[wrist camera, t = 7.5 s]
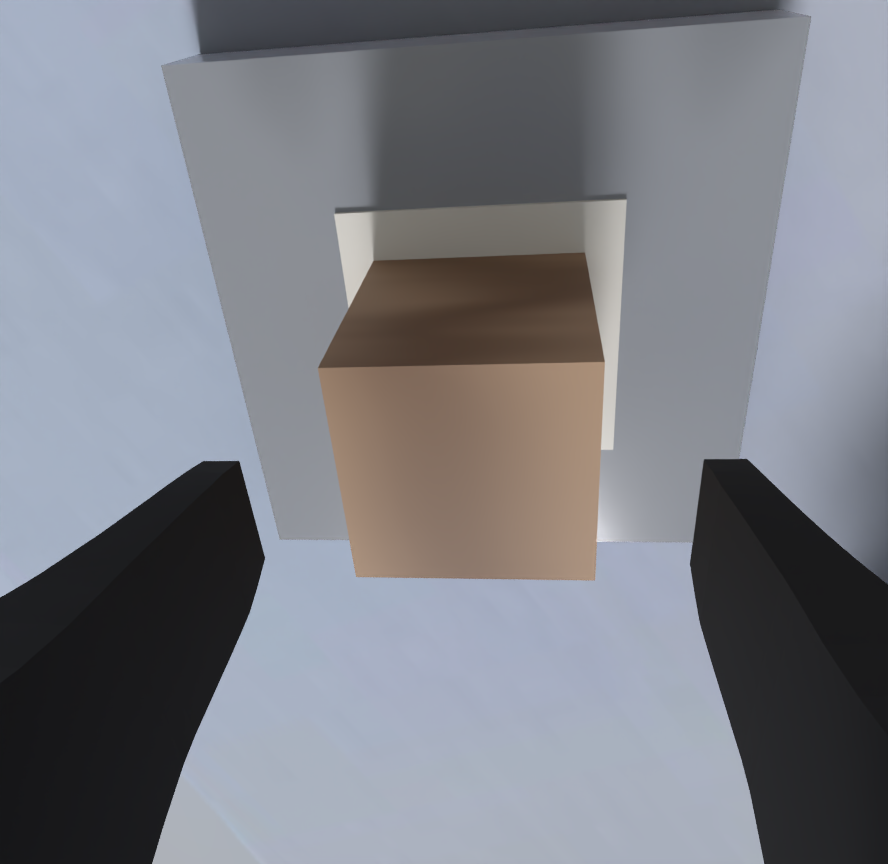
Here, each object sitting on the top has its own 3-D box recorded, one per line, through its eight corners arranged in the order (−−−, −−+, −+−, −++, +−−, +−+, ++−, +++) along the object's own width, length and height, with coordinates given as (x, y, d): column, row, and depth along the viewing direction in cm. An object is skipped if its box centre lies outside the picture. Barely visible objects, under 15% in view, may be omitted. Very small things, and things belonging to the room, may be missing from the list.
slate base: (779, 9, 15) (813, 16, 13) (710, 496, 21) (726, 545, 19) (199, 54, 16) (159, 66, 14) (298, 496, 23) (278, 541, 21)
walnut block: (584, 252, 16) (604, 361, 11) (580, 434, 18) (594, 580, 14) (373, 260, 16) (317, 368, 12) (395, 436, 18) (356, 576, 14)
